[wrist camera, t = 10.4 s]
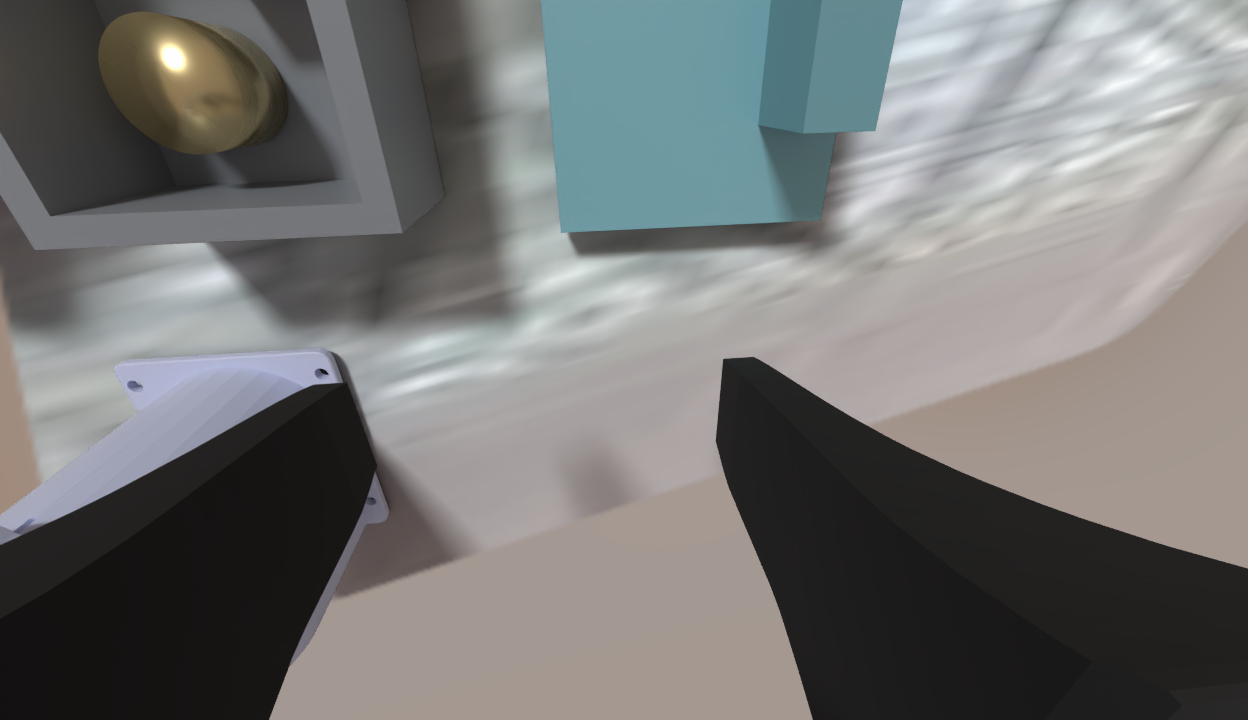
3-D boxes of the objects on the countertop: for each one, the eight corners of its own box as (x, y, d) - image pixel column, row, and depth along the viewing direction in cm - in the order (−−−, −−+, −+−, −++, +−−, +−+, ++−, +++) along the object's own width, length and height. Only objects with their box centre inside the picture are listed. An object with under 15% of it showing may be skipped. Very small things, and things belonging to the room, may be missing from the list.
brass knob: (303, 144, 15) (262, 152, 13) (197, 147, 15) (138, 156, 13) (265, 22, 14) (211, 10, 12) (146, 24, 14) (70, 12, 12)
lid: (802, 210, 19) (872, 247, 15) (561, 221, 18) (559, 264, 14) (866, -210, 13) (1013, -358, 9) (524, -217, 13) (500, -380, 8)
